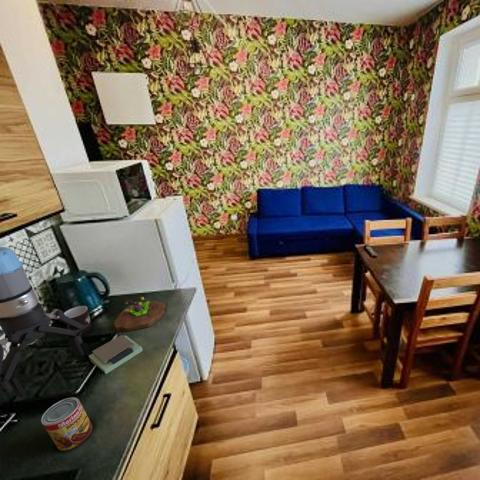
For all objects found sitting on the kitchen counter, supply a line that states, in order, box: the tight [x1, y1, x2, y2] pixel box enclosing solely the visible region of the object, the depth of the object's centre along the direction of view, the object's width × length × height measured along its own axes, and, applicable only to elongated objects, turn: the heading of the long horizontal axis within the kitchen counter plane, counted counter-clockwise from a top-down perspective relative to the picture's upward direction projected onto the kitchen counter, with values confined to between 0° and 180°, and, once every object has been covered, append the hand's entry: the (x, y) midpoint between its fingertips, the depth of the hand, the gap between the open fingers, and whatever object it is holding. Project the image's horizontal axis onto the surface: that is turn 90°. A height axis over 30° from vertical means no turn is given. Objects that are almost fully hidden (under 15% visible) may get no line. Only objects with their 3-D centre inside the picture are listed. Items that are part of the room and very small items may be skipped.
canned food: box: [40, 396, 93, 451], centre depth 76 cm, size 8×8×12 cm
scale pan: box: [91, 334, 135, 364], centre depth 104 cm, size 10×10×1 cm
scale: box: [88, 335, 144, 375], centre depth 105 cm, size 13×13×5 cm
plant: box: [113, 296, 167, 333], centre depth 126 cm, size 20×20×11 cm
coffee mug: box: [63, 305, 93, 336], centre depth 116 cm, size 12×9×10 cm
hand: (53, 373), depth 72 cm, fingers open, 13 cm apart
